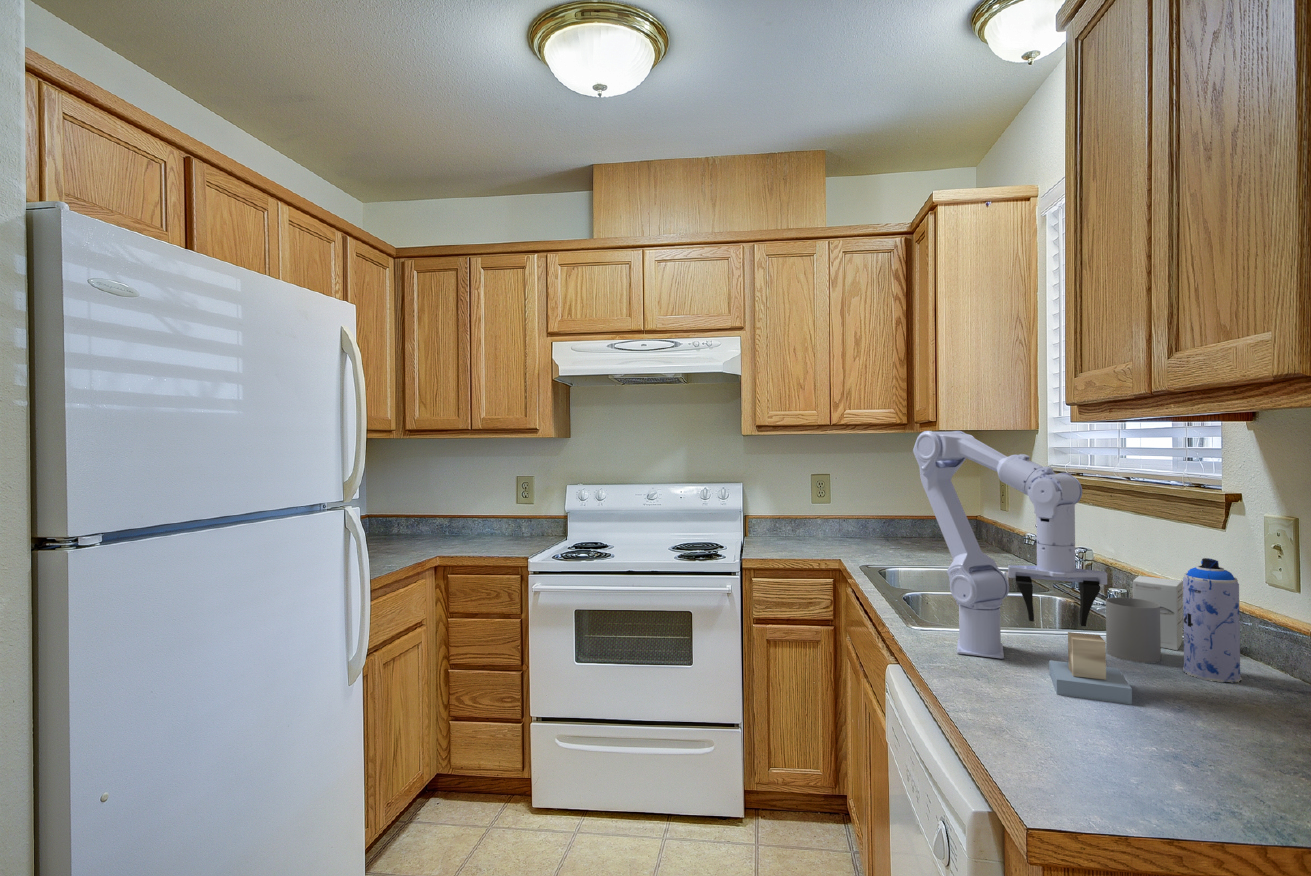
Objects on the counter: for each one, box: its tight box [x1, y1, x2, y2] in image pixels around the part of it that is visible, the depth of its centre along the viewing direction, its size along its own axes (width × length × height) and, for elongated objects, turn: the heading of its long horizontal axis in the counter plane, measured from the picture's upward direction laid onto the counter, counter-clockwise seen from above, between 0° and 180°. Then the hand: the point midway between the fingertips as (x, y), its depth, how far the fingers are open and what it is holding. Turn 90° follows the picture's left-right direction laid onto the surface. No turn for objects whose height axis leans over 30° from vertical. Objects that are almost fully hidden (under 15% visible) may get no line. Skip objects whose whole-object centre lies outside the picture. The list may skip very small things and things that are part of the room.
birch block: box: [1067, 631, 1107, 680], centre depth 109 cm, size 4×4×6 cm
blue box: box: [1048, 660, 1133, 705], centre depth 109 cm, size 10×10×3 cm
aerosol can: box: [1182, 557, 1243, 683], centre depth 115 cm, size 8×8×20 cm
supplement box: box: [1132, 575, 1184, 651], centre depth 133 cm, size 7×7×13 cm
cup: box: [1105, 596, 1162, 663], centre depth 125 cm, size 8×8×10 cm
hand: (1056, 622), depth 115 cm, fingers open, 7 cm apart
